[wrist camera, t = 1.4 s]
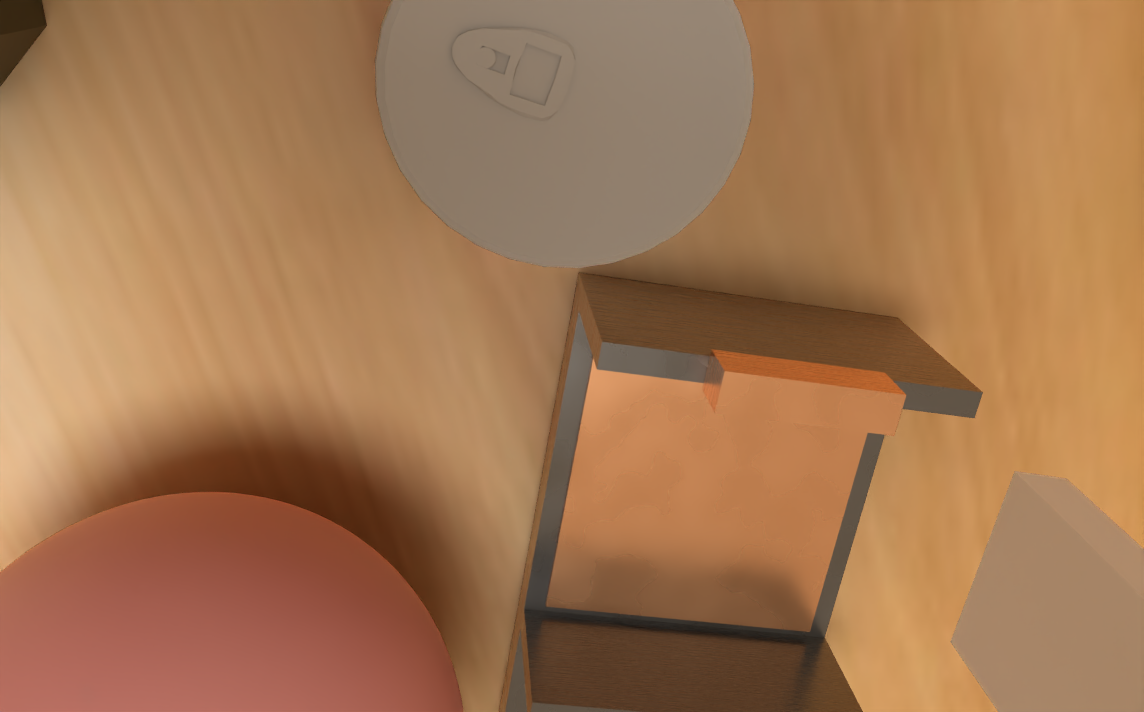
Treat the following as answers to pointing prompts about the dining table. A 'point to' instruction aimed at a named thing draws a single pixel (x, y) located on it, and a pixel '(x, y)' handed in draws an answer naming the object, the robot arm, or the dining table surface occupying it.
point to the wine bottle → (18, 31)
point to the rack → (707, 498)
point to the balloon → (215, 616)
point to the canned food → (565, 118)
